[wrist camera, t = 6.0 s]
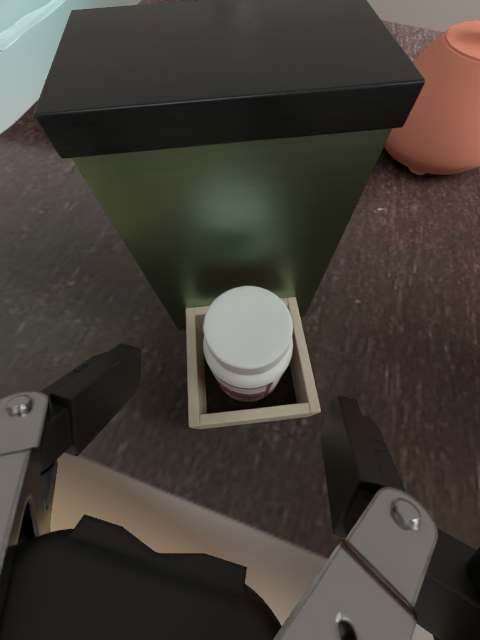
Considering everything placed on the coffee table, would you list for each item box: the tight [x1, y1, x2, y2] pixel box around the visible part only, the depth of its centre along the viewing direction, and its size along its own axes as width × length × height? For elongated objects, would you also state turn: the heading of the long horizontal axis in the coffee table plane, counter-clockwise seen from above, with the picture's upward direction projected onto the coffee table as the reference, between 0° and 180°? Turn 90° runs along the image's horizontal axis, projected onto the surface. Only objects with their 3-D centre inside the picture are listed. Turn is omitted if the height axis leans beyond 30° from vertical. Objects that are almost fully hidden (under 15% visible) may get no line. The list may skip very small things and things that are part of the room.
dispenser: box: [34, 0, 425, 330], centre depth 15 cm, size 6×10×15 cm, turn 96°
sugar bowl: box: [384, 20, 480, 175], centre depth 24 cm, size 12×14×10 cm
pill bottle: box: [203, 286, 293, 402], centre depth 15 cm, size 5×5×8 cm
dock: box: [186, 297, 321, 429], centre depth 18 cm, size 7×7×4 cm
